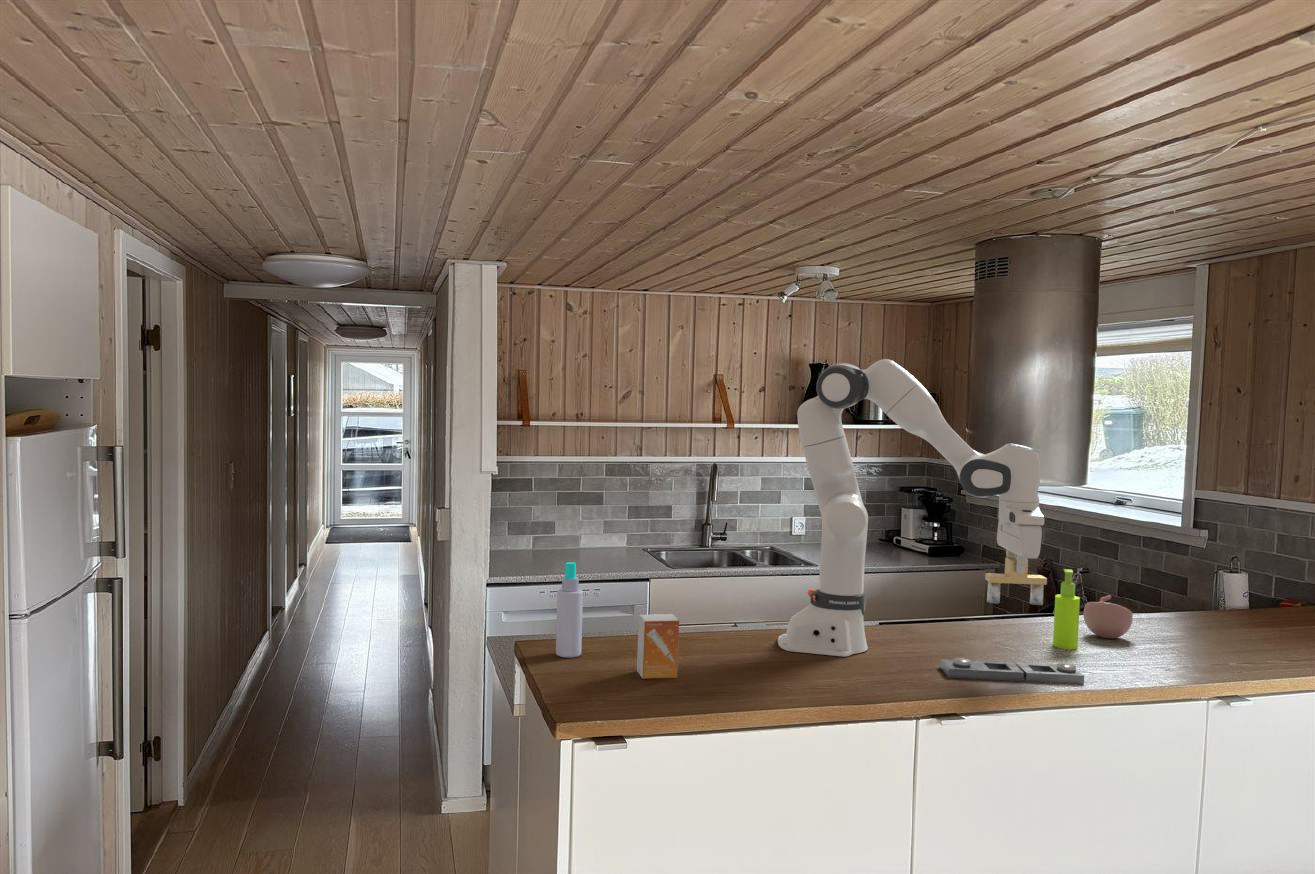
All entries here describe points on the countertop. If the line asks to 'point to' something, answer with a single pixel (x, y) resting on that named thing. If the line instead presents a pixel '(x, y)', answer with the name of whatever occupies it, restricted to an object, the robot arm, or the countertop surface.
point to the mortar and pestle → (1107, 618)
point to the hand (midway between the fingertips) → (1015, 571)
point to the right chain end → (1051, 673)
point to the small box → (658, 646)
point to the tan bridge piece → (1015, 582)
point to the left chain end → (981, 669)
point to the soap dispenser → (1066, 615)
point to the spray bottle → (569, 615)
